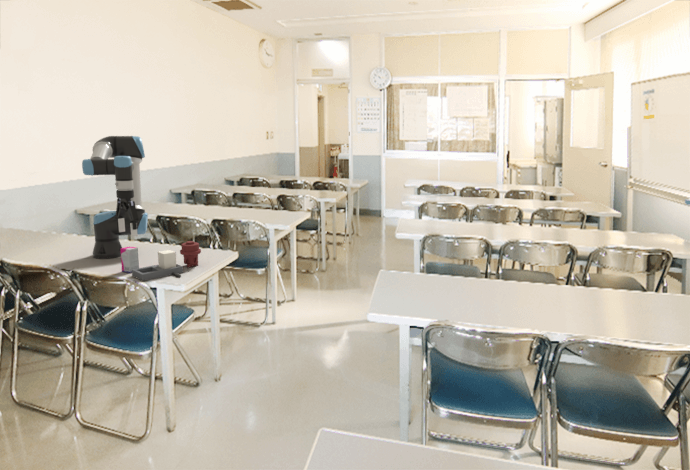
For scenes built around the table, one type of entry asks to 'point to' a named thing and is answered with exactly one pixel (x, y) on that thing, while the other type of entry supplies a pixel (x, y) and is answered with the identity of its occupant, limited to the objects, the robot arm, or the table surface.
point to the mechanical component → (190, 253)
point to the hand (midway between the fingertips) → (128, 234)
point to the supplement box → (129, 259)
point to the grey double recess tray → (160, 267)
